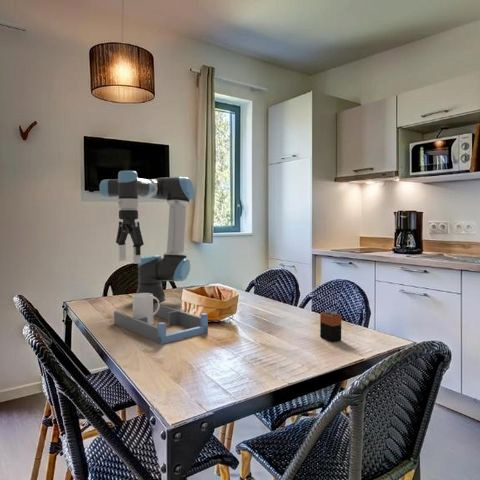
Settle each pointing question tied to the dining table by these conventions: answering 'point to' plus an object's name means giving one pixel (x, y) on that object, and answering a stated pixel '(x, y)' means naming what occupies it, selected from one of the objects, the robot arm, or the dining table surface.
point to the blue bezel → (184, 333)
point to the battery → (330, 326)
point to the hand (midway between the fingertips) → (129, 262)
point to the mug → (144, 306)
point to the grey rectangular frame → (150, 330)
